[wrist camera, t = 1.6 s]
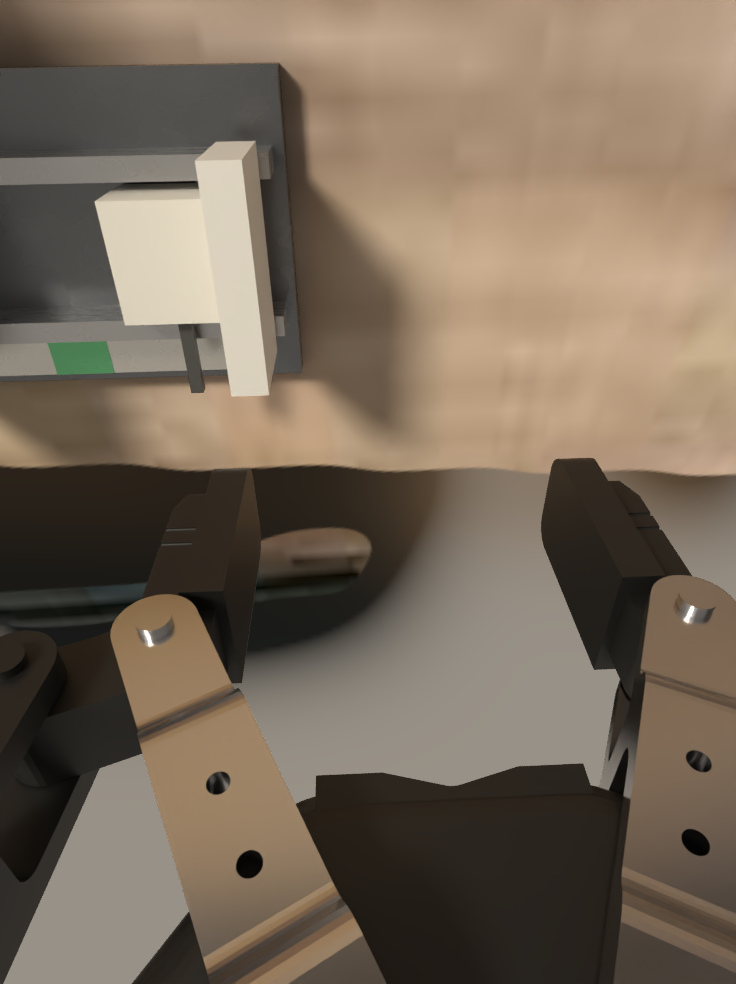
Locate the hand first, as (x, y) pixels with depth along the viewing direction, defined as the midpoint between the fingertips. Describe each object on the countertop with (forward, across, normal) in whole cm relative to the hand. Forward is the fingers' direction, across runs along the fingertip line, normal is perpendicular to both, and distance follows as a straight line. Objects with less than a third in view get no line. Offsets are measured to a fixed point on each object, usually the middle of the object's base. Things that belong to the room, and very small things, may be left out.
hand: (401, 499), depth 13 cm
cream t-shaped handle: (+21, +8, +1) cm, 22 cm away
